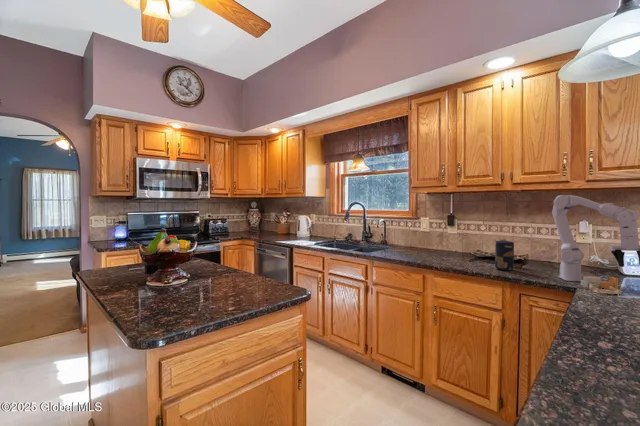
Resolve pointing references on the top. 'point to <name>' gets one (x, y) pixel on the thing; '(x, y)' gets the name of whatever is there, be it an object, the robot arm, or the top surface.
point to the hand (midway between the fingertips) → (631, 266)
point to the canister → (504, 255)
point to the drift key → (610, 283)
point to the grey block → (591, 281)
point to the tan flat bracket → (605, 290)
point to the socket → (590, 284)
